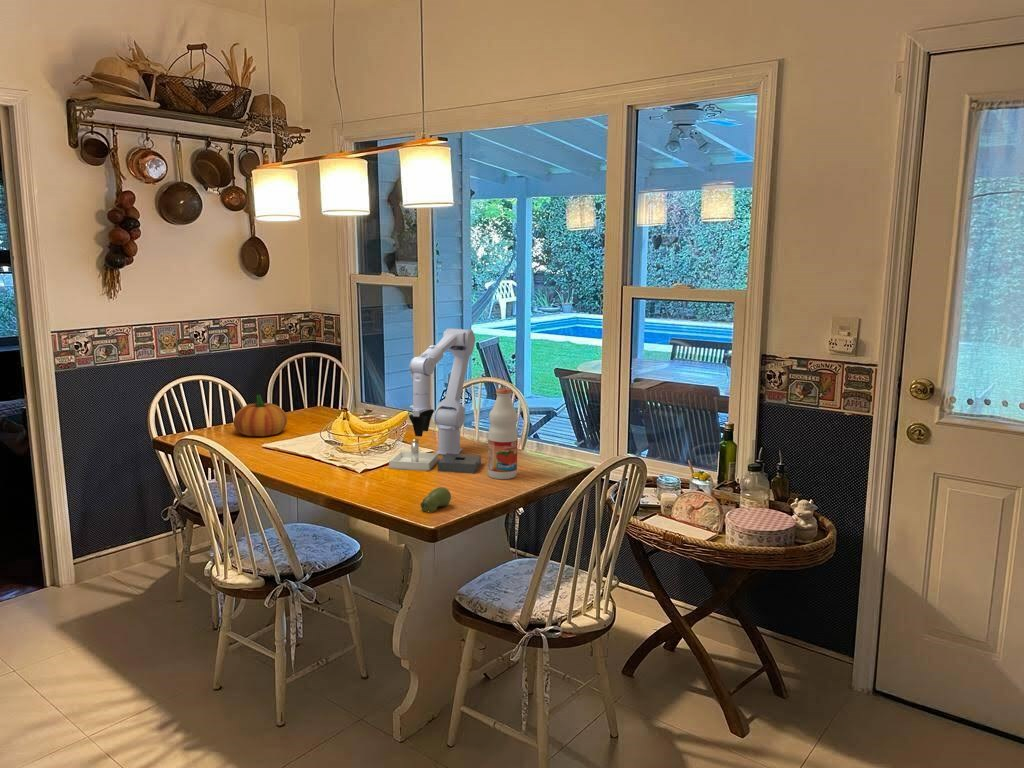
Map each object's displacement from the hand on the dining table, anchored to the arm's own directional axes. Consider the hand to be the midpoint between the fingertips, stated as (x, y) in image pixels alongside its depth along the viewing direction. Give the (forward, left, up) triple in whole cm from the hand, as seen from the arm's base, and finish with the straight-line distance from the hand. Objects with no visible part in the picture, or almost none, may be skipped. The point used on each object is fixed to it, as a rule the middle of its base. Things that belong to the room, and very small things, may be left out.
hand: (421, 433), depth 259 cm
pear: (+44, +15, -11) cm, 48 cm away
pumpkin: (-29, -71, -11) cm, 77 cm away
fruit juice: (+8, +28, -11) cm, 31 cm away
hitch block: (+2, +13, -10) cm, 17 cm away
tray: (+2, -2, -10) cm, 11 cm away
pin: (+2, -2, -10) cm, 10 cm away
